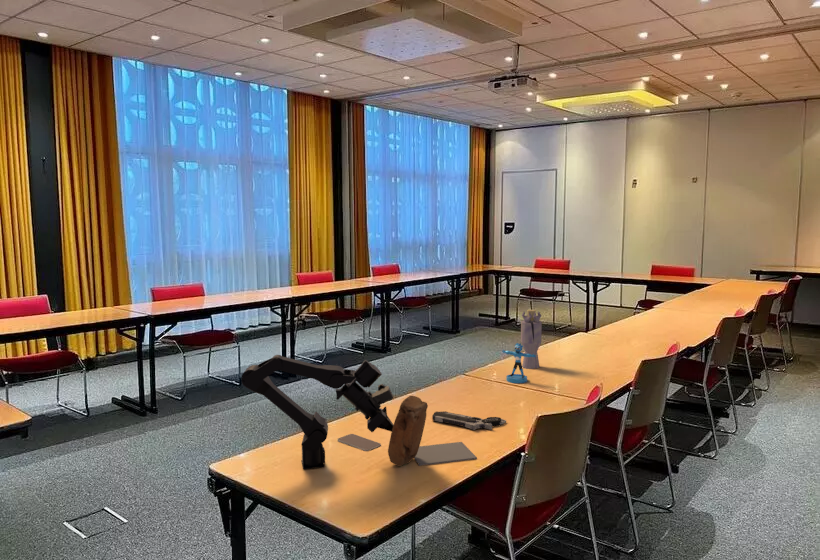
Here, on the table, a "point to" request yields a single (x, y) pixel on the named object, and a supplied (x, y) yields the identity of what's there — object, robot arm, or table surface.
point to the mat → (443, 453)
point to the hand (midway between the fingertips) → (395, 431)
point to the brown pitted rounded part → (407, 431)
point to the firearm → (467, 420)
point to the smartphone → (359, 442)
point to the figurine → (517, 377)
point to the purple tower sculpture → (531, 338)
